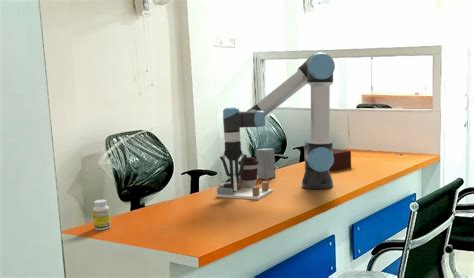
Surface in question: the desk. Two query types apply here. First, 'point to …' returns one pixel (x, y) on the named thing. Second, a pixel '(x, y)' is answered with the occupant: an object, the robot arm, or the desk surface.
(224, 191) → the board
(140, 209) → the desk surface
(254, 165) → the coffee cup
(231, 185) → the leg
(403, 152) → the desk surface
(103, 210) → the pill bottle
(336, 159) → the box
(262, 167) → the skincare box
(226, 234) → the desk surface
